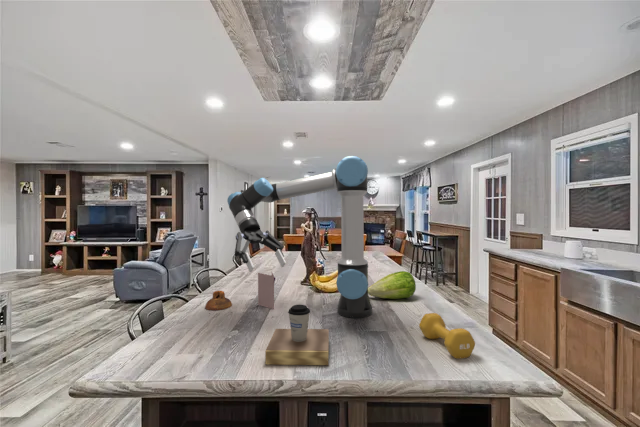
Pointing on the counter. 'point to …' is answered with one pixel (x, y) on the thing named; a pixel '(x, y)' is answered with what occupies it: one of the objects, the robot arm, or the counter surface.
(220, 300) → the brown round patterned piece
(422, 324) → the dumbbell
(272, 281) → the greeting card
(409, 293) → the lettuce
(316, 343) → the brown flat square block
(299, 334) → the coffee cup
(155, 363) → the counter surface
